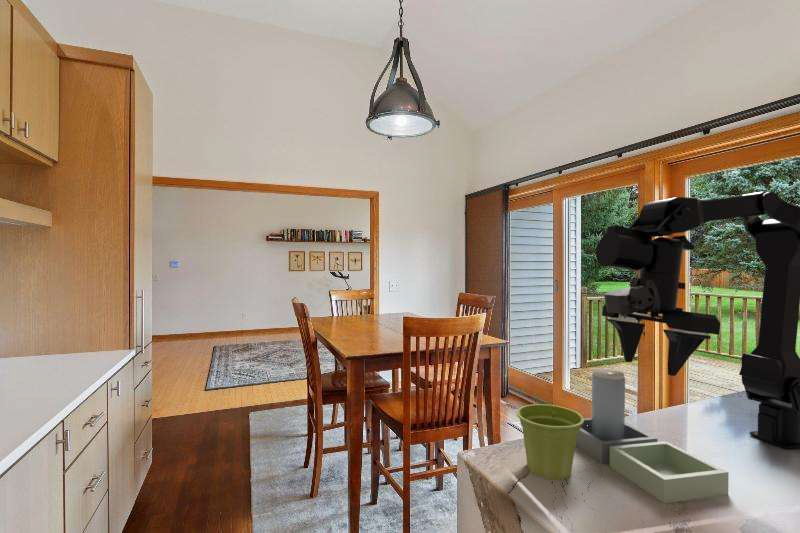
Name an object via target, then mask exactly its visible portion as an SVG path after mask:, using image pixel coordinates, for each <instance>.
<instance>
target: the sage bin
mask: <svg viewBox="0 0 800 533" xmlns="http://www.w3.org/2000/svg"><path fill="white" fill-rule="evenodd" d="M609 467H610V468H611V469H612V470H614V471H616V472H617V473H618V474H620V475H621V476H622V477H624V478H625V479H627V480H629V482H632V483H633V484H634V485H636V486H638V487H639V488H641V489H642V490H644V491H645V492H646V493H648V494H649V495H651V496H653V497H654V498H655V499H656V500H659V501H660V502H661V503H662V504H665V505H666V504H671V503H678V502H686V501H692V500H693V501H694V500H703V499H708V498H716V497H723V496H728V495H729V474H730V473H729V472H730V471H727V470H725V469H723V468H721V467H720V466H716V465H715V464H713V463H711V462H709V461H707V460H705V459H704V458H703V459H702V458H701V457H698V456H697V455H695V454H693V453H691V452H689V451H687V450H685V449H683V448H681V447H679V446H677V445H675V444H673V443H671V442H669V441H667V440H664V441H663V440H662V441H658V442H651V443H641V444H631V445H620V446H610V463H609Z"/></svg>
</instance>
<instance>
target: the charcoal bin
mask: <svg viewBox="0 0 800 533" xmlns="http://www.w3.org/2000/svg"><path fill="white" fill-rule="evenodd" d="M583 418H584V417H583ZM587 425H588V426H587ZM591 433H592V417H586V418H584V423H583V424H582V425H581V426H580V431H579V433H578V435H577V440H576V446H575V447H577V448H578V449H580V450H581V451H583V452H584V453H585V454H587V455H588V456H590V457H592V458H593V459H594V460H596V461H598V463H600V464H610V446H620V445H631V444H641V443H651V442H659V440H658V438H657V437H655V436H653V435H651V434H649V433H648V432H646V431H643V430H641V429H640V428H637V427H635V426H634V425H631V424H630V423H628V422H626V421H625V439H621V440H611V441H602V440H600V439H598V438H597V437H595V436H593V435H592V434H591Z"/></svg>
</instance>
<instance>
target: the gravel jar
mask: <svg viewBox="0 0 800 533" xmlns="http://www.w3.org/2000/svg"><path fill="white" fill-rule="evenodd" d="M625 398H626V378H625V373H624V372H623V371H619V370H615V369H609V368H608V369H607V368H597V369H593V370H592V374H591V418H592V433H591V434H592V435H593V436H595V437H597V438H598V439H600V440H602V441H611V440H621V439H625V422H626V417H625V416H626V399H625Z"/></svg>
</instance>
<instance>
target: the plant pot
mask: <svg viewBox="0 0 800 533" xmlns="http://www.w3.org/2000/svg"><path fill="white" fill-rule="evenodd" d="M516 415H517V418H518V419H519V422H520V425H521V428H522V433H523V434H522V435H523V440H524V446H525V447H524V448H525V456H526V465H527V468H528V470H529V471H530V472H531V473H533V474H534V475H536V476H539V477H541V478H543V479H544V478H545V479H550V480H563V479H567V478H569V477H570V476H572V475H571V474H572V471H573V470H572V469H573V464H574V456H575V451H576V447H577V446H576V440H577V435H578V433H579V431H580V426H581V425H582V424H583V423H584V417H583V415H582V414H581V413H580V412H578V411H576V410H573V409H570V408H567V407H563V406H560V405H555V404H545V403H544V404H543V403H537V404H536V403H535V404H533V403H532V404H527V405H523V406H521V407H519V408H518V409H517V410H516Z"/></svg>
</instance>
